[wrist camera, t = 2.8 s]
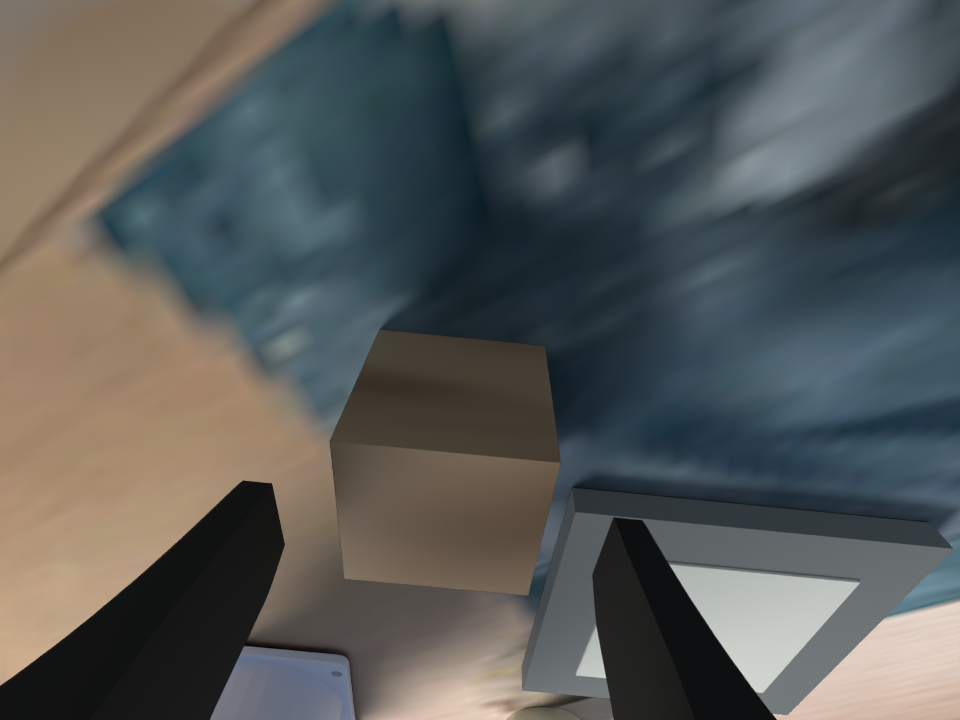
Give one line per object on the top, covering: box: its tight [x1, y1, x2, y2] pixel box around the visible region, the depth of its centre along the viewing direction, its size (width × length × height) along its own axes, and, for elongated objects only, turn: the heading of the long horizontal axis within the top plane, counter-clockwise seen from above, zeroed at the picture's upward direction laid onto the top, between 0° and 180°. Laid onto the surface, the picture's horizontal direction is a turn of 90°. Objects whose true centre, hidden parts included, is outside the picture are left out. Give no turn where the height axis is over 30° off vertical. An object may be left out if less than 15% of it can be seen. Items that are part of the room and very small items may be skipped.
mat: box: [522, 488, 953, 715], centre depth 19 cm, size 12×12×1 cm
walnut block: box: [330, 330, 561, 596], centre depth 13 cm, size 4×4×4 cm
